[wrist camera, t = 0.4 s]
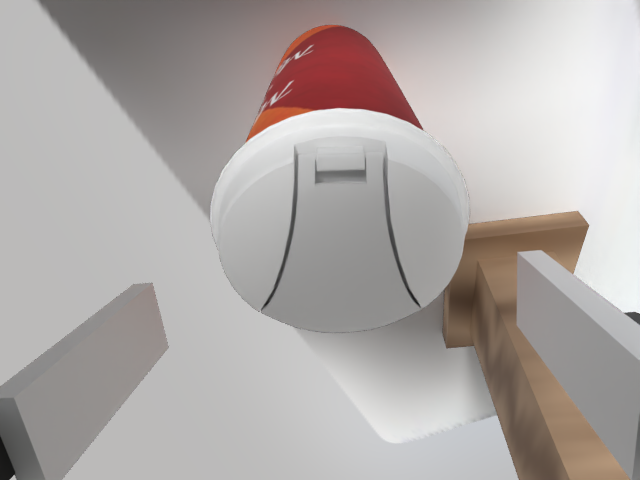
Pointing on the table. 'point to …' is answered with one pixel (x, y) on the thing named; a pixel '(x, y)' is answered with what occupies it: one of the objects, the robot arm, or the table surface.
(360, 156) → the paper cup
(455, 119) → the table surface
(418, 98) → the table surface
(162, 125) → the table surface
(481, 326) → the stand
